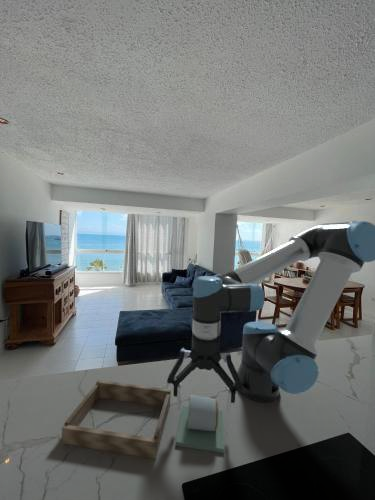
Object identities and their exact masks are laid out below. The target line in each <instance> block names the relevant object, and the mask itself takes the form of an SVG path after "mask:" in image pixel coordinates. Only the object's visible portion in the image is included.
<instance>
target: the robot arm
mask: <svg viewBox="0 0 375 500" xmlns="http://www.w3.org/2000/svg"><path fill="white" fill-rule="evenodd" d="M312 258H318V259H319V260H320V261H319V264H318V265H317V267H316V269H315V271H314V273H313V275H312V277H311V278H310V281H309V282H308V284H307V286H306V288H305V290H304V292H303V293H302V296H301V298H300V300H299V301H298V303H297V305H296V307H295V309H294V311H293V313H292V314H291V316H290V318H289V320H288V322H287V324H286V326H285V327H283V328H280V329H279V328H278V326H277V325H275V324H273V323H270V322H264V321H250V322H246V323H245V324H244V325H243V328H242V329H243V330H242V346H241V362H240V365H239V366H238V369H236V368H235V365H234V362H233V361H232V355H231V351H226V352H224V353H223V352H222V353H221V352H220V347H221V346H220V345H221V343H220V342H221V337H220V335H221V318H222V313H239V312H240V313H241V312H245V313H246V312H248V313H251V312H255V311H260V310H262V308H263V307H264V305H265V298H266V297H265V292H264V289H263V288H262V287H261V286H260V284H258V283H259V282H262V281H263V280H265V279H267V278H269V277H272V276H273V275H274V274H276V273H279V272H281V271H282V270H284V269H286V268H289V267H291V266H292V265H294V264H296V263H297V262H299V261H302V262H306V261H308V260H309V259H312ZM374 261H375V224H374V223H372V222H369V221H364V220H363V221H356V220H353V221H349V222H348V221H347V222H331V223H322V224H321V223H320V224H318V225H315V226H313V227H310V228H308V229H306V230H303V231H302V232H299V233H297V234H295V235H294V236H291V237H289V239H288V241H287V242H286V243H284V244H282V245H279V246H278V247H276V248H274V249H272V250H271V251H268V252H266V253H265V254H262V255H261V256H258V257H256V258H255V259H253V260H250V261H249V262H247V263H245V264H242V265H241V266H238V267H237V268H235V269H233V270H230V271H228V272H226V273H223V274H222V273H220V274H219V273H218V274H215V275H213V276H210V275H203V276H198V277H197V278H195V279H194V282H193V292H192V324H191V325H192V327H191V331H192V335H191V350H189V349H188V350H187V349H186V348H185V347H181V349H180V351H179V356H178V358H177V360H176V361H175V364H174V365H173V367H172V368H171V371H170V373H169V375H168V378H167V380H166V381H167V384H171V385H172V386H173V397H176V411H177V412H179V411H180V410H181V404H182V385H183V384H182V382H183V381H184V380H185V379H186V378H187V376H189V375H190V374H191V372H193V371H195V370H196V368H198V370H207V371H211V370H213V371H214V372H215V374H217V375H218V376H219V378H220V379H221V380H222V381H223V383H224V384H225V385H226V386H227V393H226V397H227V398H226V399H227V400H226V416H227V417H229V418H230V417H231V408H232V406H231V405H232V404H235V402H236V394H237V391H239V392H240V393H241V394H242V395H243V396H244V397H247V398H248V399H250V400H253V401H255V402H256V401H257V402H260V403H261V402H263V403H265V402H266V403H268V402H273V401H275V400H276V399H278V397H280V389H281V390H282V391H284V392H285V393H288V394H290V395H291V394H292V395H298V394H299V395H300V394H301V393H305V392H307V391H309V390H310V389H312V387H313V386H314V385H315V384H316V383H317V381H318V377H319V366H318V364H317V363H316V361H315V359H316V357H317V356H318V352H317V349H316V343H317V341H318V339H319V338H320V336H321V333H322V332H323V329H324V327H325V325H326V324H327V322H328V320H329V318H330V316H331V314H332V312H333V310H334V308H335V306H336V304H337V302H338V300H339V299H340V297H341V295H342V292H343V291H344V289H345V287H346V285H347V283H348V282H349V279H350V277H351V276H352V274H354V273H357V272H360V271H361V270H362V268H363V266H364V264H365V263H371V262H374ZM188 357H190V359H191V360H190V362H188V364H187V365H186V366H185V367H184V368H183V369H182V370H181V371H180V372H179V373H178V371H179V369H180V368H181V366H182V364H183V363H184V360H186V359H187V358H188ZM221 360H223V362H224V363H225V364H226V366H227V368H228V370H229V372H230V375H231V377H232V378H231V377H230V376H229V375H228V373H227V372H226V370H224V368H223V367H222V366H221V364H220V361H221ZM177 373H178V374H177ZM180 412H181V411H180Z"/></svg>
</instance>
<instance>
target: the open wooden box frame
mask: <svg viewBox="0 0 375 500" xmlns="http://www.w3.org/2000/svg"><path fill="white" fill-rule="evenodd" d="M171 392H172V389H171V388H169V389H168V388H162V387H155V386H154V387H152V386H146V385H139V384H129V383H122V382H117V381H116V382H113V381H106V380H98V379H97V381H96V382H95V385H93V387H92V388H91V390H90V391H89V392H88V393H87V394H86V396H85V397H84V398H83V400H82V401H81V402H80V403H79V404H78V406H77V407H76V408H75V409H74V410H73V412H71V414H70V415H69V417H67V419H66V420H65V422H64V424H63V426H62V427H61V444H63V445H70V446H76V447H77V446H78V447H82V448H88V449H96V450H100V451H107V452H112V453H113V452H114V453H117V454H118V453H119V454H124V455H129V456H130V455H132V456H138V457H142V458H143V457H144V458H150V459H157V456H158V452H159V449H160V445H161V441H162V437H163V434H164V429H165V427H166V422H167V419H168V413H169V410H170V407H171ZM99 399H106V400H114V401H119V402H120V401H121V402H127V403H135V404H143V405H149V406H157V407H162V408H161V411H160V415H159V418H158V421H157V424H156V428H155V431H154V433H153V437H148V436H142V435H136V434H129V433H122V432H116V431H111V430H104V429H97V428H90V427H84V426H80V424H81V423H82V422H83V421H84V419H85V418H86V416H87V415H88V413H90V412H91V409H92V408H93V406H94V405H95V404H96V402H97V401H98V400H99Z"/></svg>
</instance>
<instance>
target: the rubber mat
mask: <svg viewBox="0 0 375 500" xmlns="http://www.w3.org/2000/svg"><path fill="white" fill-rule="evenodd" d="M188 412H189V406H185V405H184V406H183V405H182V407H181V411H180V417H179V423H178V427H177V428H178V429H177V434H176V440H175V447H180V448H181V447H182V448H188V449H196V450H199V451H200V450H202V451H207V452H213V453H220V454H225V441H224V425H223V424H224V423H223V422H224V421H223V411H222V410H221V411H220V410H218V427H217V429H216V430H215V431H205V430H196V429H188V428H187V422H188Z"/></svg>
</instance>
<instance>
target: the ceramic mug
mask: <svg viewBox="0 0 375 500" xmlns="http://www.w3.org/2000/svg"><path fill="white" fill-rule="evenodd" d="M188 402H189V404H188V407H189V412H188V422H187V428H188V429H196V430H205V431H215V430H216V429H217V427H218V411H219V403H218V400H217V399H215V398H212V397H207V396H200V395H196V394H190V395H189V401H188Z"/></svg>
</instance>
